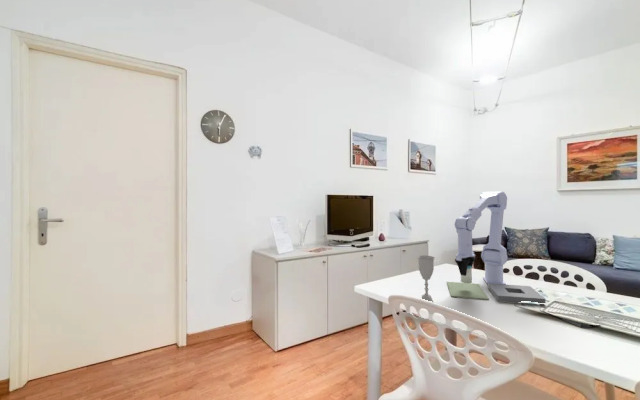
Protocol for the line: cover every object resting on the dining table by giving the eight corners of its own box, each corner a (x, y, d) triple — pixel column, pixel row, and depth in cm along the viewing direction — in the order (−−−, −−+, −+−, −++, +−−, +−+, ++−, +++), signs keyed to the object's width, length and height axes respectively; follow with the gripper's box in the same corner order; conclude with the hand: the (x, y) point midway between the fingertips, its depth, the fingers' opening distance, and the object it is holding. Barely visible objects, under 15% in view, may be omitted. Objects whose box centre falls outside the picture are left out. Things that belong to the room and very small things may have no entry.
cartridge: (459, 281, 129) (459, 266, 129) (462, 279, 132) (462, 264, 132) (469, 283, 126) (469, 268, 126) (473, 281, 129) (472, 266, 129)
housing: (488, 288, 131) (488, 283, 131) (530, 291, 126) (530, 286, 126) (497, 301, 116) (497, 295, 116) (545, 305, 110) (545, 299, 110)
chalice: (437, 304, 114) (436, 259, 114) (419, 303, 116) (418, 259, 115) (433, 297, 122) (432, 255, 121) (417, 297, 123) (416, 255, 123)
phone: (555, 305, 108) (601, 323, 93) (555, 308, 108) (601, 326, 93) (538, 307, 107) (582, 325, 92) (538, 311, 107) (582, 329, 92)
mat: (446, 282, 141) (446, 281, 141) (478, 285, 136) (478, 283, 136) (451, 297, 122) (451, 295, 122) (488, 300, 118) (488, 298, 118)
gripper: (467, 247, 121) (468, 279, 121) (480, 242, 131) (481, 272, 131) (450, 245, 126) (451, 276, 127) (464, 241, 136) (465, 269, 136)
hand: (465, 274), depth 129 cm, fingers closed on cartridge, 4 cm apart
